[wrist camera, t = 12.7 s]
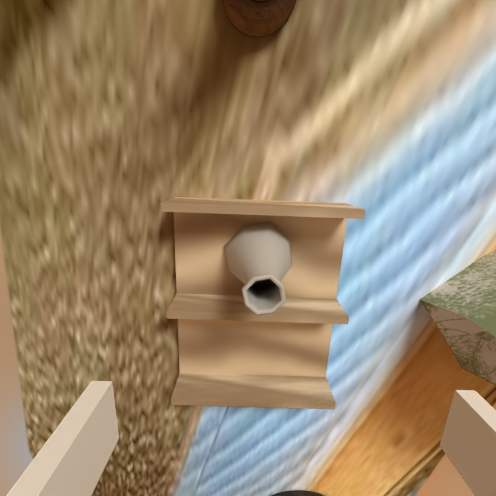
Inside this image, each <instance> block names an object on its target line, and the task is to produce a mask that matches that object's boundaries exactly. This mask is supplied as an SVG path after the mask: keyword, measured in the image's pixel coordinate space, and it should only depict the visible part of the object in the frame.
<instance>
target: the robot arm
mask: <svg viewBox="0 0 496 496" xmlns="http://www.w3.org/2000/svg"><path fill="white" fill-rule="evenodd" d="M118 439H119V434H118V426H117V418H116V410H115V401H114V393H113V385H112V381H91V383H90V384H89V385H88V387H87V388H86V389H85V391H84V392H83V393H82V395H81V396H80V397H79V399H78V400H77V401H76V403H75V404H74V405H73V407H72V408H71V410H70V411H69V412H68V414H67V415H66V416H65V418H64V419H63V420H62V422H61V423H60V424H59V426H58V427H57V428H56V430H55V431H54V432H53V434H52V435H51V436H50V438H49V439H48V440H47V442H46V443H45V444H44V446H43V447H42V448H41V450H40V451H39V452H38V454H37V455H36V456H35V458H34V459H33V460H32V462H31V463H30V464H29V466H28V467H27V469H26V470H25V471H24V473H23V474H22V475H21V477H20V478H19V479H18V481H17V482H16V483H15V485H14V486H13V487H12V489H11V490H10V491H9V493H8V494H7V495H6V496H91V495H92V493H93V491H94V489H95V487H96V485H97V482H98V480H99V478H100V476H101V474H102V472H103V470H104V468H105V466H106V464H107V462H108V460H109V458H110V456H111V453H112V451H113V449H114V447H115V445H116V443H117V441H118ZM440 447H441V448H442V449H443V451H444V452H445V454H446V455H447V456H448V458H449V459H450V461H451V462H452V463H453V465H454V466H455V468H456V469H457V471H458V472H459V473H460V475H461V476H462V478H463V479H464V481H465V482H466V483H467V485H468V486H469V488H470V489H471V490H472V492H473V493H474V495H475V496H496V410H495V409H494V408H493V407H492V406H491V405H490V404H489V403H488V402H487V401H486V400H485V399H483V398H482V397H481V396H480V395H479V394H478V393H477V392H476V391H475V390H455V393H454V396H453V400H452V403H451V407H450V410H449V414H448V417H447V421H446V424H445V428H444V431H443V435H442V438H441V442H440ZM274 496H323V495H321V494H318V493H314V492H309V491H289V492H284V493H280V494H277V495H274Z"/></svg>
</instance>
